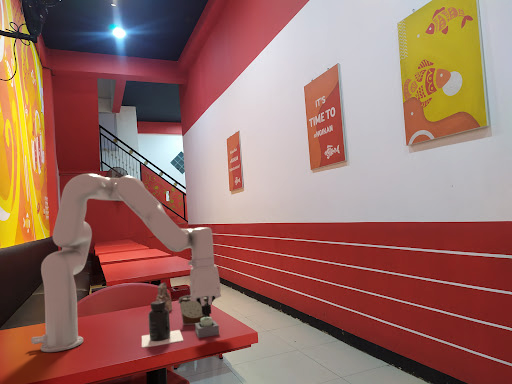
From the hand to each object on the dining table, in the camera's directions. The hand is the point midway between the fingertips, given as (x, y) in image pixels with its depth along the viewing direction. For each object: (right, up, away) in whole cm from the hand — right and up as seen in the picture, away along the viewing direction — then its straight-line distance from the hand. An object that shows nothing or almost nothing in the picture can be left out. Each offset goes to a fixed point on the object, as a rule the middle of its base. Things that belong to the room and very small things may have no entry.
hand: (206, 316), depth 125 cm
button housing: (0, -6, 0) cm, 6 cm away
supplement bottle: (-15, -7, -3) cm, 17 cm away
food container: (-6, -7, +14) cm, 17 cm away
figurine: (-24, -10, +36) cm, 44 cm away
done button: (0, -4, 0) cm, 4 cm away
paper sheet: (-15, -7, -3) cm, 16 cm away
